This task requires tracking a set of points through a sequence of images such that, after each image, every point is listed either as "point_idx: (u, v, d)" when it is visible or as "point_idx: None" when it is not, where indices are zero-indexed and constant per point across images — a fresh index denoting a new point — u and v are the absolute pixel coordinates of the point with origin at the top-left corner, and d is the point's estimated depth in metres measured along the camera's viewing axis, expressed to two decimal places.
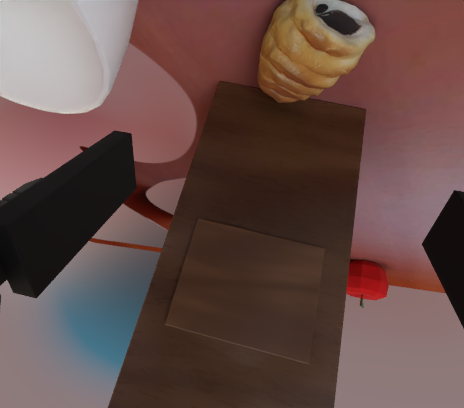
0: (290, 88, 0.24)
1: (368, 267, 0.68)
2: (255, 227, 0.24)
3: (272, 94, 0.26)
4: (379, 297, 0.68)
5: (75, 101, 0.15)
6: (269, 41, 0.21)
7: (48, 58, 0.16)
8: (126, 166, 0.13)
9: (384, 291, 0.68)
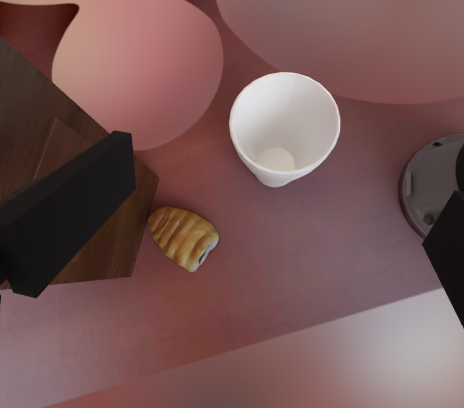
0: (167, 228, 0.38)
1: None
2: None
3: (158, 215, 0.39)
4: None
5: (234, 132, 0.29)
6: (196, 217, 0.39)
7: (240, 118, 0.32)
8: (126, 166, 0.13)
9: None
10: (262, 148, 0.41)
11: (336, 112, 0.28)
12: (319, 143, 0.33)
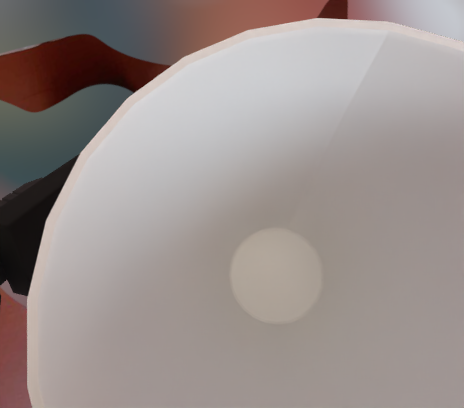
0: None
1: None
2: None
3: None
4: None
5: (62, 337, 0.05)
6: None
7: (142, 215, 0.08)
8: None
9: None
10: (246, 235, 0.17)
11: None
12: (439, 295, 0.09)
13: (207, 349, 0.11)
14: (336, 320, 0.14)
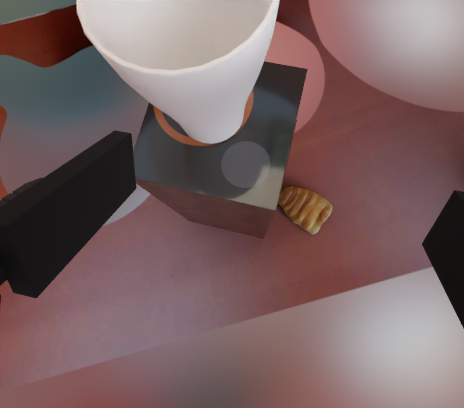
0: (297, 201, 0.52)
1: None
2: None
3: (287, 192, 0.53)
4: None
5: (87, 7, 0.16)
6: (316, 194, 0.53)
7: (118, 2, 0.18)
8: (126, 166, 0.13)
9: None
10: None
11: None
12: None
13: None
14: None
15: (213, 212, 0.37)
